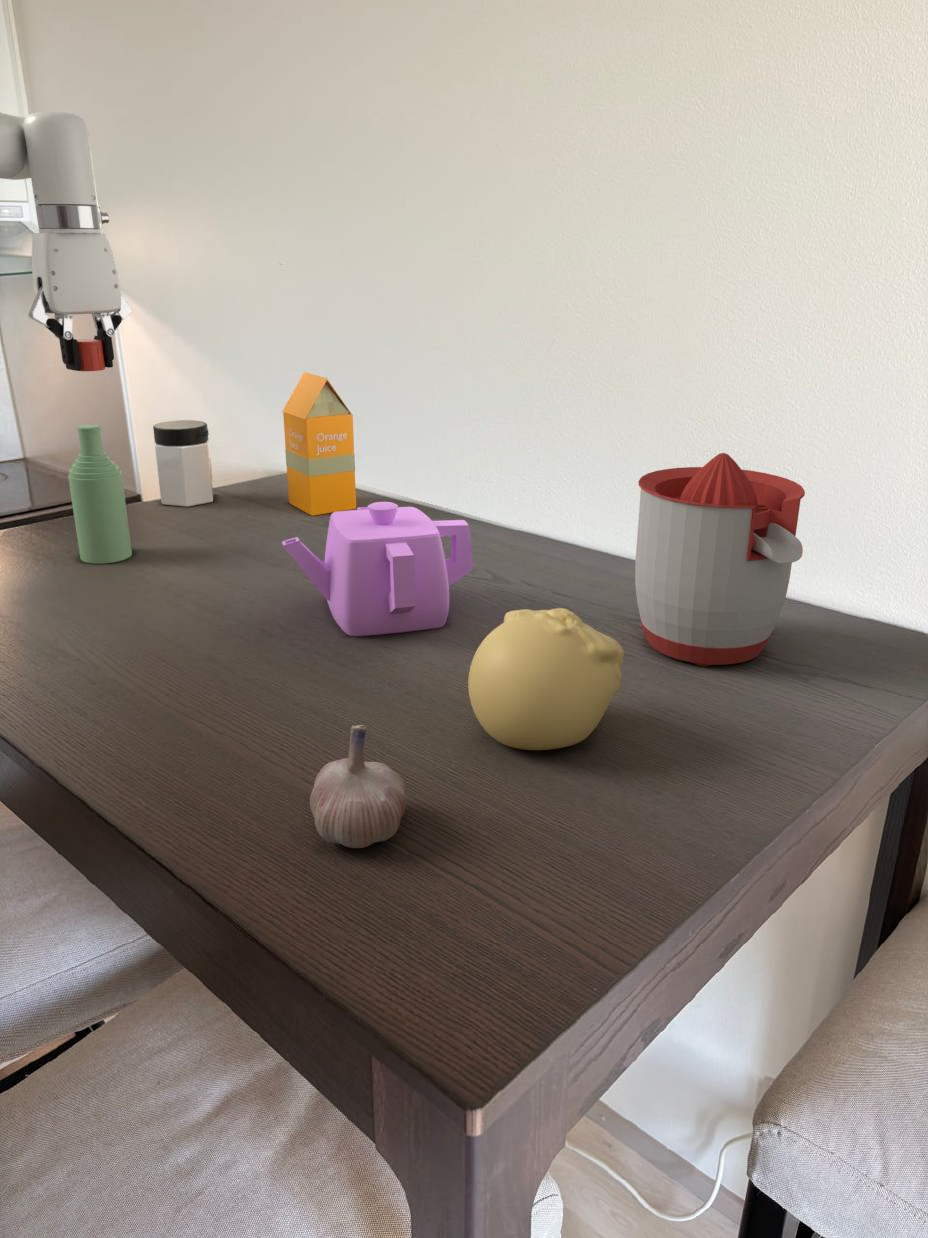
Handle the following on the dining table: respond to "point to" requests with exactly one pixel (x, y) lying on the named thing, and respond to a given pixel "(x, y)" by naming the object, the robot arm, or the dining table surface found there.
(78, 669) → the dining table surface
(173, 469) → the jar
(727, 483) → the citrus juicer
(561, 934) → the dining table surface
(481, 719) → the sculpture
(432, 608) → the teakettle
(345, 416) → the orange juice
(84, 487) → the bottle
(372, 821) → the garlic bulb
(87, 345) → the cap
